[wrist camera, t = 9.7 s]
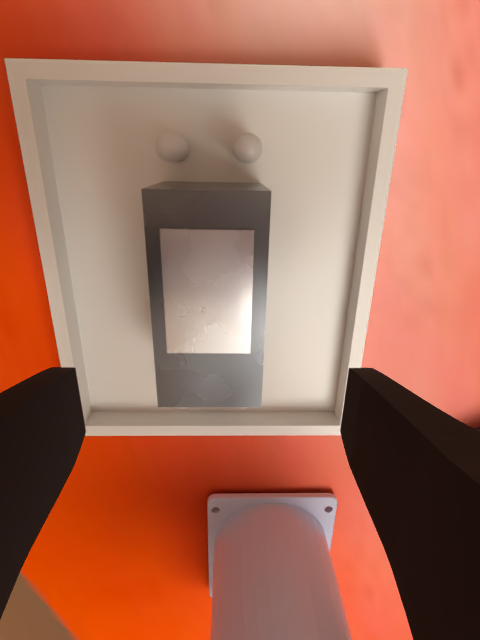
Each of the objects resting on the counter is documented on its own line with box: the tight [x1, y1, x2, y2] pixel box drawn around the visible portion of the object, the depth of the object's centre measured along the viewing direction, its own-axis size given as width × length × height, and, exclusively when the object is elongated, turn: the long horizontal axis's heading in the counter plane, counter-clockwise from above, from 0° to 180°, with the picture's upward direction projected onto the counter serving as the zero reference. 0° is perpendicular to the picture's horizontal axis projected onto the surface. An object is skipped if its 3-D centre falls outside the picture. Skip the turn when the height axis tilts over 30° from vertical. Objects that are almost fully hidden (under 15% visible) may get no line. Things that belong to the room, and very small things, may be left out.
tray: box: [4, 58, 408, 436], centre depth 17 cm, size 16×14×3 cm
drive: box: [141, 181, 271, 407], centre depth 15 cm, size 8×4×5 cm, turn 179°
